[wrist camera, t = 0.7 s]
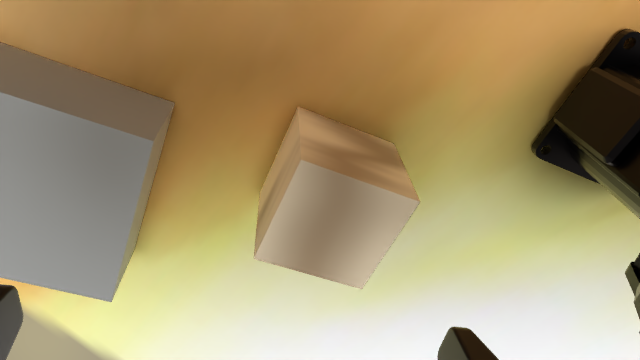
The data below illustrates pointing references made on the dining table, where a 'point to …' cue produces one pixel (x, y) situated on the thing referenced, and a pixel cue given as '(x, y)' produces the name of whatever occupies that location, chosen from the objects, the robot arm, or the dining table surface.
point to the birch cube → (332, 201)
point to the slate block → (73, 173)
